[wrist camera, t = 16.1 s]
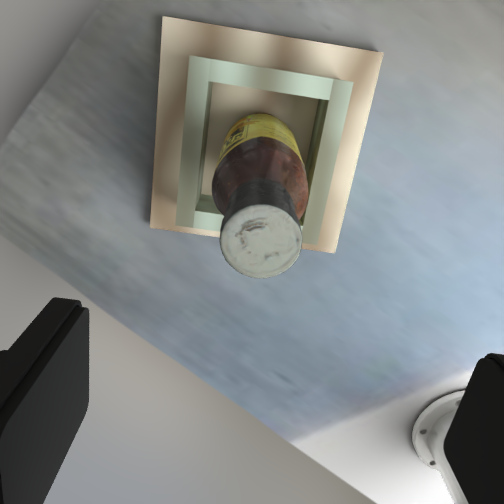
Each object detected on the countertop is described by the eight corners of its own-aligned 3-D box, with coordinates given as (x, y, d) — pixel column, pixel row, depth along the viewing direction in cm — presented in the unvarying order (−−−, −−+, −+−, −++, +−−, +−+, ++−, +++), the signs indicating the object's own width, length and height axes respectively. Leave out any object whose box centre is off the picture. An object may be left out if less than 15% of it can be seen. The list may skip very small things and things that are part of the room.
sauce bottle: (231, 103, 37) (207, 151, 19) (303, 119, 38) (346, 181, 20) (218, 177, 40) (185, 281, 22) (284, 191, 40) (307, 304, 22)
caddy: (379, 53, 37) (403, 51, 31) (332, 248, 44) (344, 275, 38) (165, 17, 36) (149, 8, 30) (152, 223, 43) (137, 248, 37)
